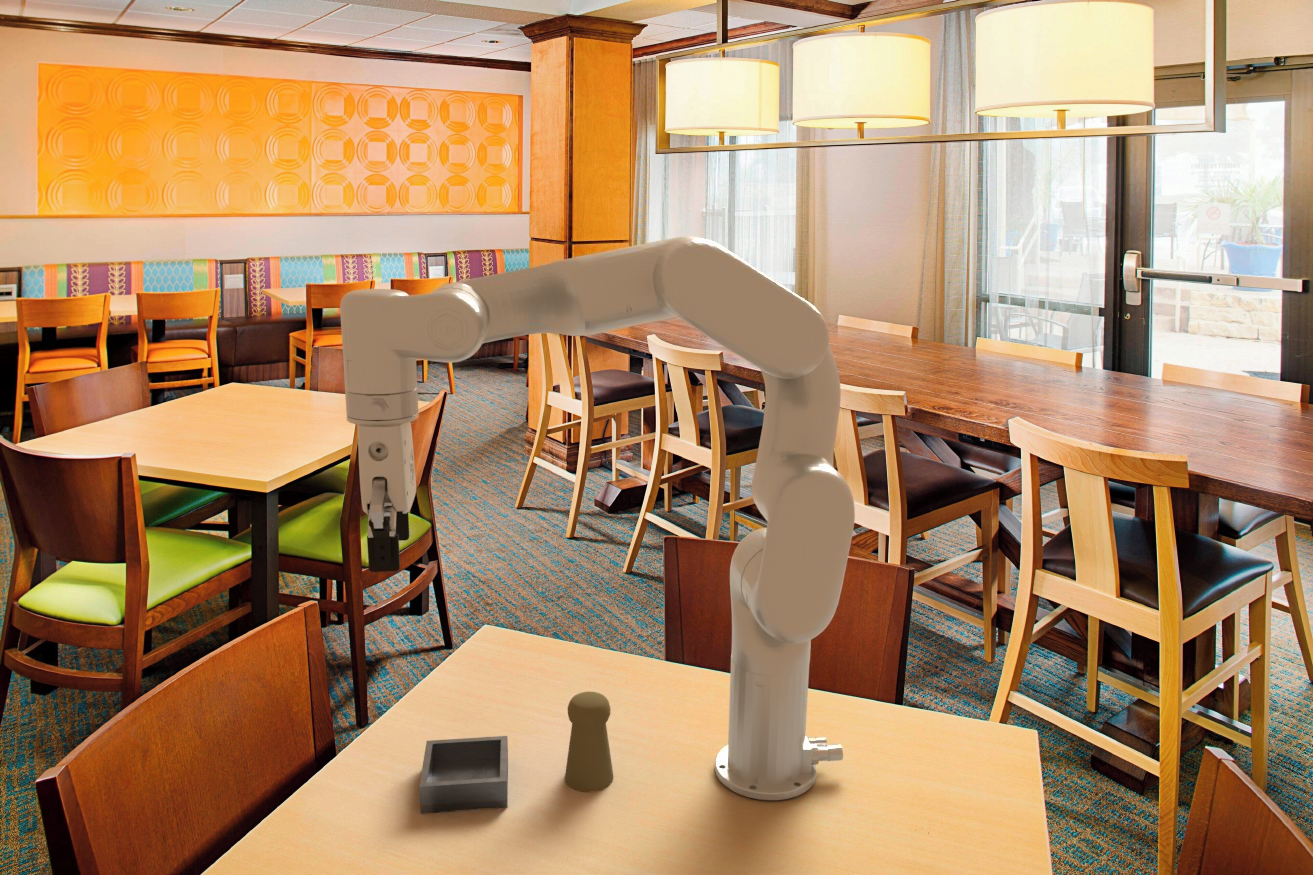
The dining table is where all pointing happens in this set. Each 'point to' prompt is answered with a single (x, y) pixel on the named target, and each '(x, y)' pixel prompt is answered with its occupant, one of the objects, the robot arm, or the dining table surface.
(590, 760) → the cork
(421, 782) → the socket
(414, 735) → the dining table surface
